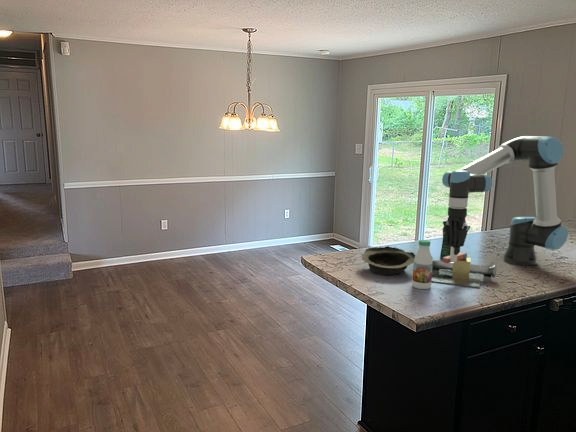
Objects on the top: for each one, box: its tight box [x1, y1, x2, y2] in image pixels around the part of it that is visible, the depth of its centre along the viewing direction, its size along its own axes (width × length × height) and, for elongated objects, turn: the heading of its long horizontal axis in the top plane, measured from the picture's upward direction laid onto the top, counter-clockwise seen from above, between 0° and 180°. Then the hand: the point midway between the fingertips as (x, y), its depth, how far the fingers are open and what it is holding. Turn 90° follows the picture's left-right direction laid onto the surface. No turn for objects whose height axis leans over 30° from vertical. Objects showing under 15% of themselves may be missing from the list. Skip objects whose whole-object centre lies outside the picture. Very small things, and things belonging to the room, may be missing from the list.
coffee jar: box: [439, 226, 461, 261], centre depth 236 cm, size 10×8×19 cm
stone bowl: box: [361, 245, 416, 276], centre depth 218 cm, size 25×25×9 cm
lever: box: [441, 251, 468, 263], centre depth 205 cm, size 16×4×2 cm, turn 129°
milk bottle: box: [411, 239, 434, 290], centre depth 196 cm, size 8×8×20 cm
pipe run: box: [431, 257, 497, 289], centre depth 209 cm, size 32×22×8 cm
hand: (453, 261), depth 201 cm, fingers closed
